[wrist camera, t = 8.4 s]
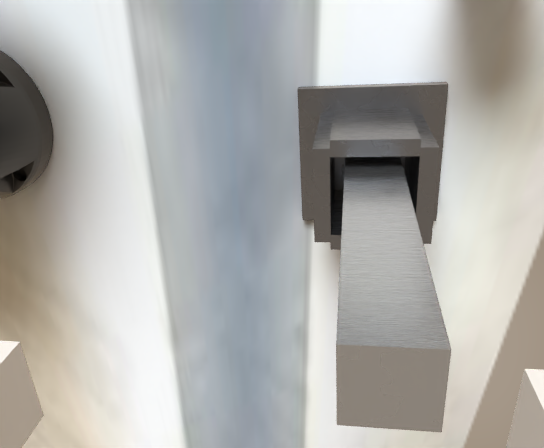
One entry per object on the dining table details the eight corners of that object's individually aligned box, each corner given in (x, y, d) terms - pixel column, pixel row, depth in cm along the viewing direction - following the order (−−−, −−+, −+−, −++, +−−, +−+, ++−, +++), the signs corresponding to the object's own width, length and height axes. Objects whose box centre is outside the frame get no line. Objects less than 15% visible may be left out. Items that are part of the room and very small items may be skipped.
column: (345, 206, 41) (337, 435, 20) (345, 151, 39) (336, 344, 18) (395, 206, 40) (440, 443, 20) (398, 151, 38) (451, 349, 18)
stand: (303, 215, 48) (289, 282, 37) (298, 87, 43) (280, 122, 32) (434, 216, 46) (459, 287, 35) (446, 81, 41) (478, 117, 30)
